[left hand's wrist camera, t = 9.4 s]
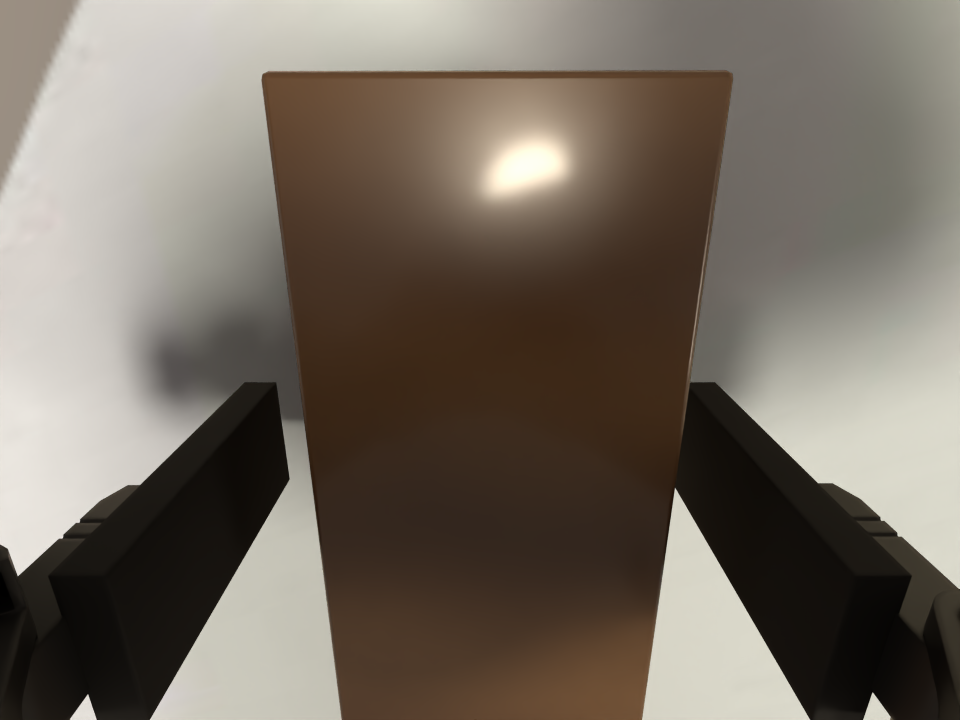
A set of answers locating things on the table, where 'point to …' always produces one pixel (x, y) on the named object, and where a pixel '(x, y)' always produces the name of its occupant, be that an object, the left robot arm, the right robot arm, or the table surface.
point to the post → (494, 371)
